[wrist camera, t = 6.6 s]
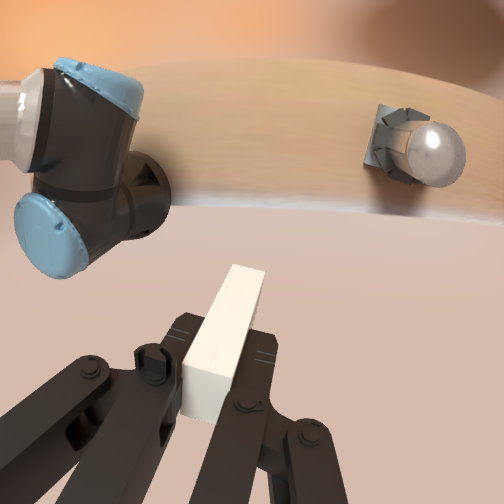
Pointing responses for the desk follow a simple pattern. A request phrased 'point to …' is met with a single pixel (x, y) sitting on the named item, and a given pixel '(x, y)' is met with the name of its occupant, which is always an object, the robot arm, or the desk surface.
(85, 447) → the robot arm
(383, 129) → the ring
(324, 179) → the desk surface
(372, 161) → the dowel stand
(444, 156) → the silver metal cylinder
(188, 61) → the desk surface
